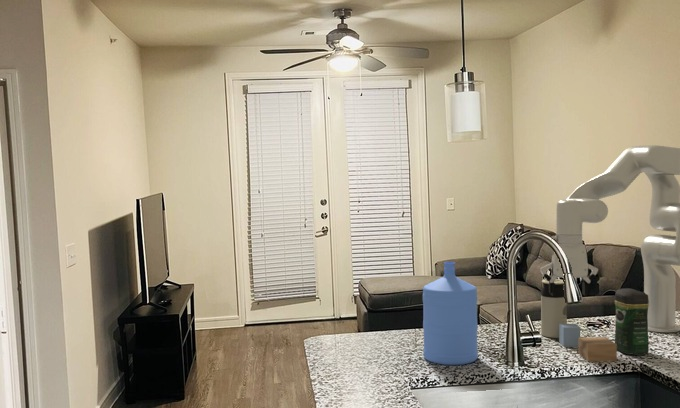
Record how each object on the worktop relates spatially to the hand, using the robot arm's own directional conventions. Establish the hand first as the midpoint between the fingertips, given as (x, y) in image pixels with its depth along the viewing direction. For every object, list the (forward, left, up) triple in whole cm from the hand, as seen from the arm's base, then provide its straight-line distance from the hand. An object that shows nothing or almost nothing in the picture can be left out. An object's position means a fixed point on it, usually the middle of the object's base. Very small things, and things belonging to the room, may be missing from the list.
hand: (568, 295), depth 203 cm
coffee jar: (+8, +16, -16) cm, 24 cm away
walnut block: (+14, +4, -16) cm, 21 cm away
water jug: (+15, -38, -16) cm, 43 cm away
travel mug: (-11, -2, -16) cm, 19 cm away
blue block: (0, 0, -15) cm, 15 cm away
